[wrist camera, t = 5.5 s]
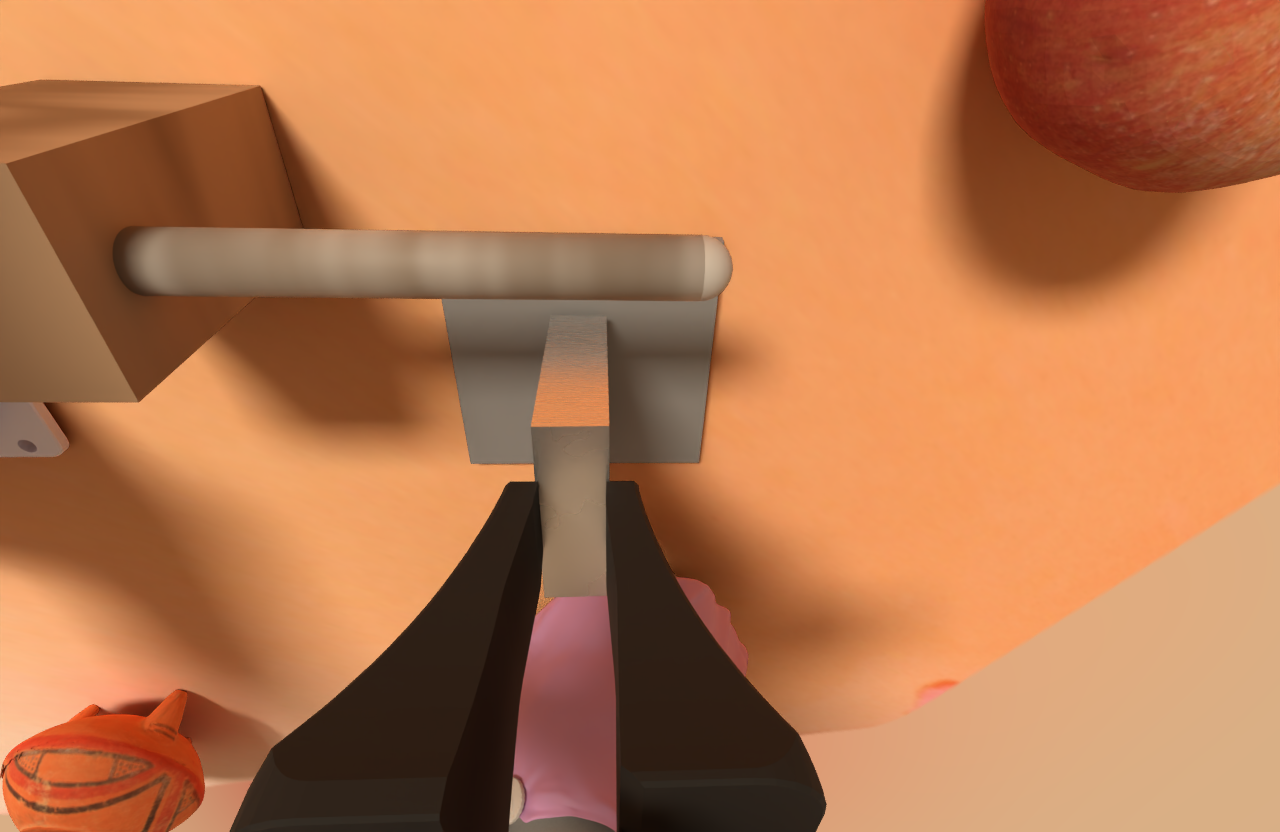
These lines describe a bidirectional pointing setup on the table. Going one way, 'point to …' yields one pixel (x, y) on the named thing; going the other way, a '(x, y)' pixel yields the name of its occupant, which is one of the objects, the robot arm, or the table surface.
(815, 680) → the table surface
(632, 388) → the mat
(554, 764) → the toy character
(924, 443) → the table surface
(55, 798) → the pot
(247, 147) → the stand
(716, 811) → the robot arm
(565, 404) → the link
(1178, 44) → the apple
